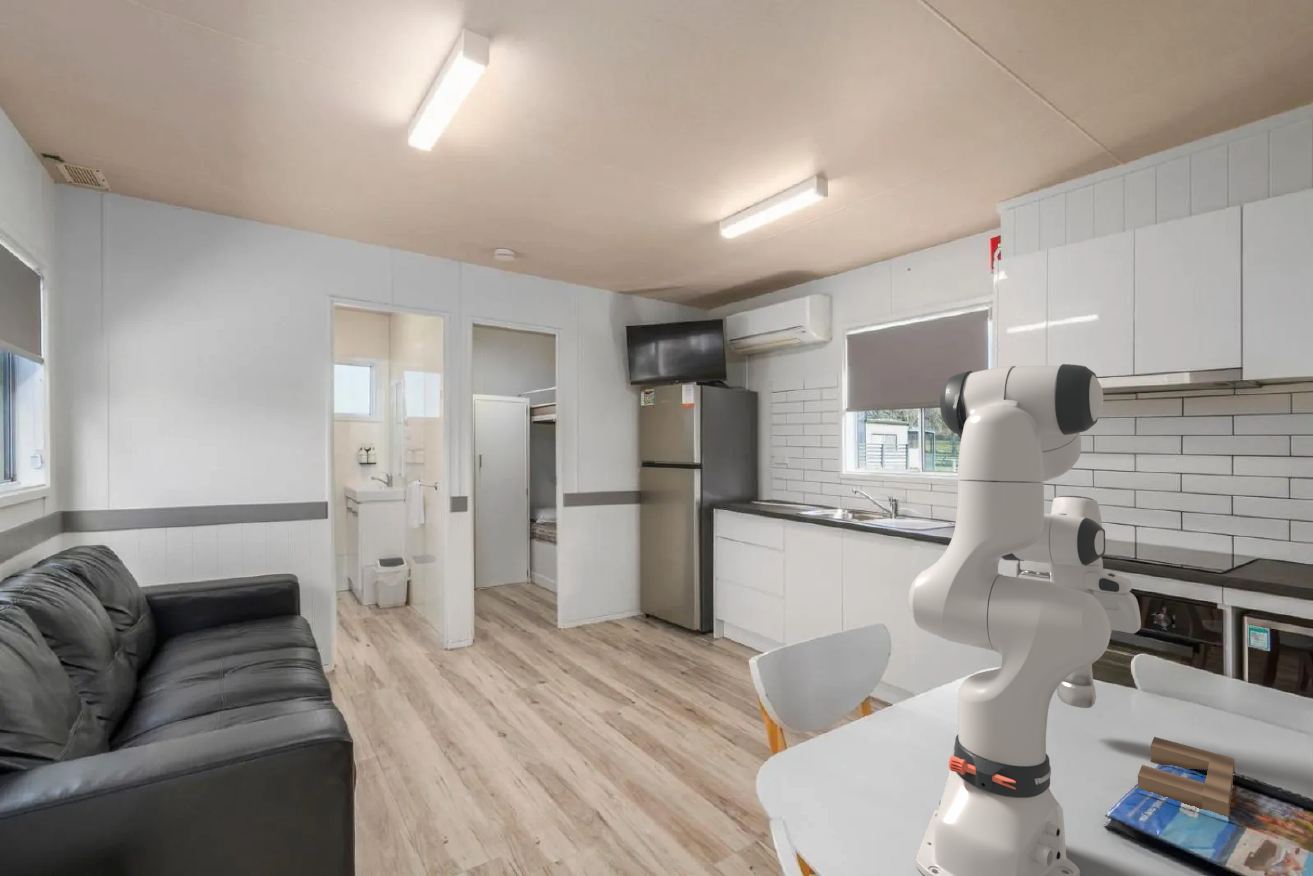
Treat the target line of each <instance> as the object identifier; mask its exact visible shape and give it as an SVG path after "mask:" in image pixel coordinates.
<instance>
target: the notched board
mask: <svg viewBox="0 0 1313 876" xmlns="http://www.w3.org/2000/svg"><path fill="white" fill-rule="evenodd" d="M1150 762H1151V763H1153V764H1157V765H1161V766H1163V765H1173V766H1178V767H1182V768H1185V769H1198V770H1199V769H1200V770H1201V769H1202V770H1203V769H1204V770H1205V769H1206V770H1207V769H1208V770H1207V775H1206V778H1205V779H1204V780H1205V781H1204V782H1203V781H1199V780H1195V779H1193V778H1189V777H1185V776H1182V775H1178V774H1175V773H1171V772H1169V771H1165V770H1163V769H1162V770H1161V769H1159V768H1155V767H1152V766H1147V765H1145V764H1141V767H1140V769H1139V770H1138V773H1137V789H1138V788H1140V789H1142V790H1145V791H1148V792H1153V793H1156V794H1158V795H1161V796H1163V797H1168V798H1171V799H1173V800H1175V801H1180V802H1182V803H1184V804H1187V805H1190V806H1195V807H1197V808H1199V809H1204V810H1210V811H1213V812H1215V813H1218V814H1220V815H1224V816H1227V817H1228V818H1229V819H1230V817H1229V810H1230V811H1231V809H1230V802H1231V803H1232V801H1231V793H1232V784H1233V774H1235V775H1236V772H1235V768H1236V767H1235V758H1234V757H1230V756H1227V755H1224V754H1220V753H1217V752H1213V751H1209V750H1206V749H1202V748H1197V747H1194V746H1190V745H1186V744H1183V743H1179V742H1175V741H1172V740H1168V739H1164V738H1160V737H1157V736H1154V737H1153V739H1152V741H1151V743H1150ZM1232 794H1233V793H1232Z"/></svg>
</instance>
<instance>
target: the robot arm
mask: <svg viewBox="0 0 1313 876" xmlns="http://www.w3.org/2000/svg"><path fill="white" fill-rule="evenodd" d="M939 397H940V398H939V408H940V414H941V418H942V421H943V422H944V424H945V426H946V427H947V428H948V429H949V430H950V432H952V433H954V434H956V435H957V436H958V437H959V439H960V444H959V451H958V461H957V463H958V464H957V500H956V516H955V525H954V531H953V534H952V537H951V539H950V542H949V544H948V545H947V548H946V550H945V551H944V552H943V554H942V555H941V556H940V557H939V559H937V560H936V562H934V563H933V564H932V565H930V566H929V567H927V568H926V569H923V570H922V571H921V572H920V573H919V574H917V576H916V577H915V578H914V579H913V581H912V582H911V585H910V587H909V589H908V594H907V604H908V609H909V613H910V615H911V618H912V620H913V621H914V623H915V624H916V626H917V627H918V628H919V629H920V630H922V631H925V632H928V633H930V634H932V635H934V636H937V637H939V638H941V639H944V640H946V641H948V642H953V643H957V644H963V645H967V646H972V647H976V648H980V649H984V650H989V651H993V652H996V653H999V654H1001V666H1000V667H999V668H996V669H990V670H985V671H982V672H978V673H975V674H972V675H970V676H969V677H967V678H965V680H964V681H963V682H962V683H961V685H960V687H959V688H958V692H957V699H958V700H957V705H958V707H957V708H958V709H957V710H958V711H957V713H958V714H957V719H958V720H957V723H958V724H957V726H958V729H957V730H958V731H957V733H958V734H957V735H956V736H955V738H954V739H955V742H954V745H953V751H952V754H951V756H950V757H949V760H948V769H949V773H948V776H947V779H946V783H945V785H944V786H945V787H944V789H943V792H942V793H943V794H942V796H941V799H940V800H939V806H938V808H937V809H934V811H933V813H932V816H931V819H930V821H929V823H928V826H927V828H926V831H925V834H924V837H923V839H922V842H921V844H920V847H919V850H918V852H917V856H916V858H915V867H916V869H917V870H918V871H919V872H921V874H923V875H924V876H1081V871H1080V869H1079V867H1078V866H1077V865H1076V864H1075V863H1074V862H1072V860H1070V859H1069V858H1068V857H1067V850H1066V835H1065V833H1066V832H1065V819H1064V809H1063V807H1062V806H1061V804H1060V803H1059V801H1058V800H1057V799H1056V798H1055V797H1054V795H1053V793H1052V791H1051V789H1050V786H1051V774H1052V766H1051V764H1050V757H1049V754H1048V753H1047V727H1048V715H1049V708H1050V703H1051V700H1052V697H1053V695H1054V693H1055V692H1056V691H1057V687H1058V686H1059V684H1060V683H1061V682H1062V681H1063V680H1064V679H1065V678H1066V677H1068V676H1069V675H1070V674H1072V673H1073V672H1075V671H1077V670H1078V669H1081V668H1083V667H1086V666H1088V665H1090V664H1092V665H1093V664H1094V663H1095V662H1097V661H1098V660H1099V659H1100V658H1102V656H1103V655H1104V653H1105V652H1106V650H1107V648H1108V646H1109V643H1110V639H1111V634H1112V631H1114V632H1115V631H1117V632H1120V633H1121V632H1122V633H1127V634H1133V635H1134V634H1136V633H1137V632H1138V631H1140V629H1141V627H1142V620H1141V619H1142V618H1141V612H1140V605H1139V603H1138V599H1137V598H1136V596H1135V594H1133V593H1132V592H1130V591H1132V589H1133V581H1132V580H1130V579H1129V578H1127V577H1125V576H1121V575H1119V574H1116V573H1113V572H1111V571H1109V570H1106V569H1104V564H1103V563H1104V562H1103V558H1102V557H1103V556H1104V555H1105V553H1106V530H1105V529H1104V527H1103V524H1102V517H1101V509H1100V506H1099V502H1098V501H1097V500H1095V499H1094V498H1091V497H1088V496H1078V495H1060V496H1057V497H1054V498H1053V500H1052V502H1051V510H1050V511H1051V512H1050V513H1045V483H1046V482H1049V481H1052V480H1054V479H1057V478H1058V477H1061V476H1063V475H1064V474H1065V473H1067V472H1068V471H1069V470H1071V469H1072V468H1073V467H1074V466H1075V465H1076V464H1077V462H1078V461H1079V459H1080V456H1081V453H1082V437H1081V433H1083V432H1086V431H1088V430H1089V429H1091V428H1093V427H1094V425H1096V424H1097V423H1098V419H1099V416H1100V415H1101V412H1102V410H1103V406H1104V391H1103V387H1102V385H1101V383H1100V381H1099V380H1098V377H1097V374H1096V373H1095V372H1094V371H1093V370H1091V369H1089V368H1088V367H1087V366H1085V365H1078V364H1067V363H1066V364H1065V363H1062V364H1061V365H1060V366H1056V365H1029V366H1028V365H1026V366H1015V365H1011V366H1001V367H994V368H988V369H983V370H978V371H972V370H968V371H964V372H961V373H957V374H954V375H951V376H950V377H949V378H948V379H947V381H946V382H945V383H944V384H943V386H942V388H941V392H940V396H939ZM1001 558H1002V559H1003V560H1005V561H1019V562H1021V561H1022V562H1026V561H1027V562H1035V563H1043V564H1049V572H1045V571H1033V570H1028V569H1027V570H1025V571H1022V572H1020V573H1018V575H1017V577H1016V576H1011V575H1010V576H1009V575H1003V574H1000V573H999V565H1000V562H1001V561H1000V560H1001Z"/></svg>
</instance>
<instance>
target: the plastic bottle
mask: <svg viewBox="0 0 1313 876" xmlns="http://www.w3.org/2000/svg"><path fill="white" fill-rule="evenodd" d="M1095 687H1096V686H1095V685H1094V675H1093V663H1092V664H1090V665H1088V666H1086V667H1083V668H1081V669H1078V670H1077V671H1075V672H1073V673H1072V674H1070V675H1069V676H1068V677H1066V678H1065V679H1064V680H1063V681H1062V682H1061V683H1060V684H1059V686H1058V687H1057V688H1056V692H1057V697H1058V698H1059V699H1060V701H1061V702H1062V703H1064V704H1066V705H1069V706H1071V707H1076V708H1080V709H1081V708H1082V709H1089V708H1092V707H1093V706H1094V705H1095V703H1096V700H1097V693H1096V688H1095Z"/></svg>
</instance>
